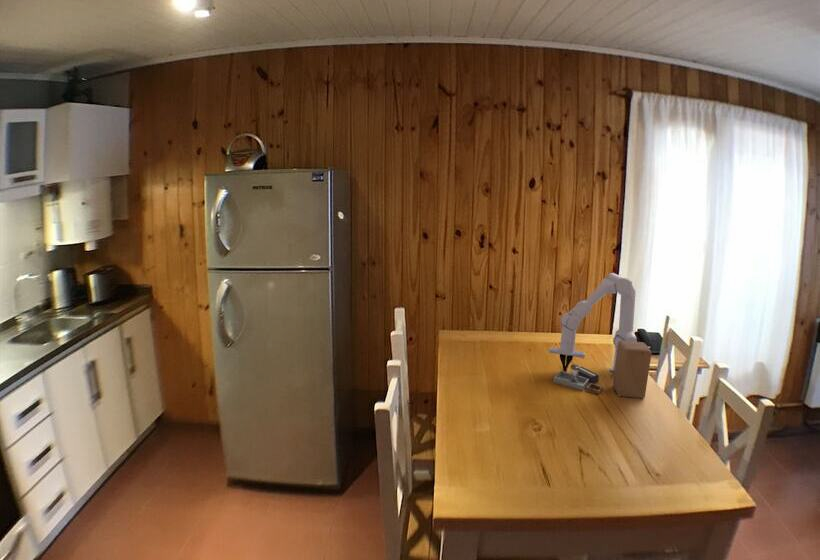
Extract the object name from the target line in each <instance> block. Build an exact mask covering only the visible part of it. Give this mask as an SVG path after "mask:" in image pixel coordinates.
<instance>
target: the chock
mask: <svg viewBox="0 0 820 560" xmlns="http://www.w3.org/2000/svg"><path fill="white" fill-rule="evenodd" d="M579 367H580V368H579V371H578V376H582V377H585V378H589V384H590V383H592V384H596V383H599V377H600V374H598V373H597V372H594V371H592V370H590V369H588V368H586V367H583V366H579ZM589 384H588V385H589Z"/></svg>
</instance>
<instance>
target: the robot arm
mask: <svg viewBox="0 0 820 560" xmlns="http://www.w3.org/2000/svg"><path fill="white" fill-rule="evenodd" d="M607 294H608V295H609V294H611V295H612V294H619V295H620V305H619V307H620V308H619V319H618V320H619V322H618V329H617V330H615V332H614V333H615V334H614V336H613V340H612V343H613V345H614V350H615V351H614V359H613V365H612V366H611V368H609V370H610V371H611V372H614V371H615V363H616V355H617V348H618V342H619V341H632V342H638V341H637V336H636V335H635V333H634V321H635V320H634V319H635V304H636V303H635V301H636V289H635V287H634V286H633V281H631V280H630V279H628V278H626V277H623V276H621V275H619V274H617V273H614V272H610V273H608V274H607V275H606V277H604V278H603V279H601V283H600V284H599V285H598V286H597V287H596V289H594V291H593V292H591V294H590V295H589V296H588V298H586V299H585V300H580V301H578V302H577V303H576V304H575V306H574V307H573V308H572V309H571V310H569V311H568V312H567V313H564V314H563V315H562V316H561V318H559V322H560V324H561V335H560V344H559V345H560V346H559V347H549V348H548V354H556V355H559V360H560V362H561V365H562V371H564V372H568V371H567V370H568V367H569V365H570V364H571V362H572V361H573V359H574V357H575V358H580V359H585V355H586V352H582V351H579V350H575V346H576V335H577V329H578V328H579V327H580V325H581V322H582V320H583V319H584V318H586V317H587V315H588V314H590V313H591V312H592V309H593V306H595V304H596V303H598V302H599V301H600V300H601V299H602V298H604V297H605V296H606V295H607Z"/></svg>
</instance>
